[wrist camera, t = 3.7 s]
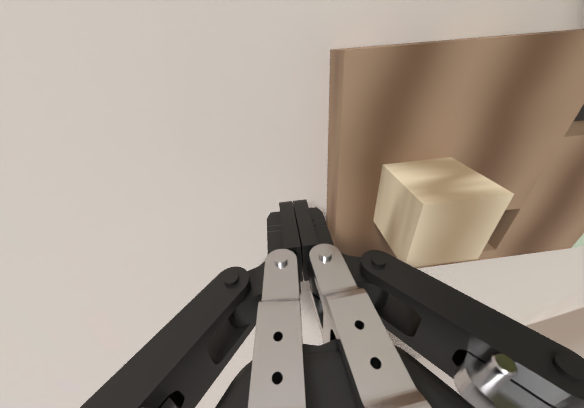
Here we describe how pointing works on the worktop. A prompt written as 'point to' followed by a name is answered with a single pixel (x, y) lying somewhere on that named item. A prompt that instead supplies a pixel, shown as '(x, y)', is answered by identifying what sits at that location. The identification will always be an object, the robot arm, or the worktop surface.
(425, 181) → the block
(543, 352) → the robot arm
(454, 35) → the worktop surface
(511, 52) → the board
